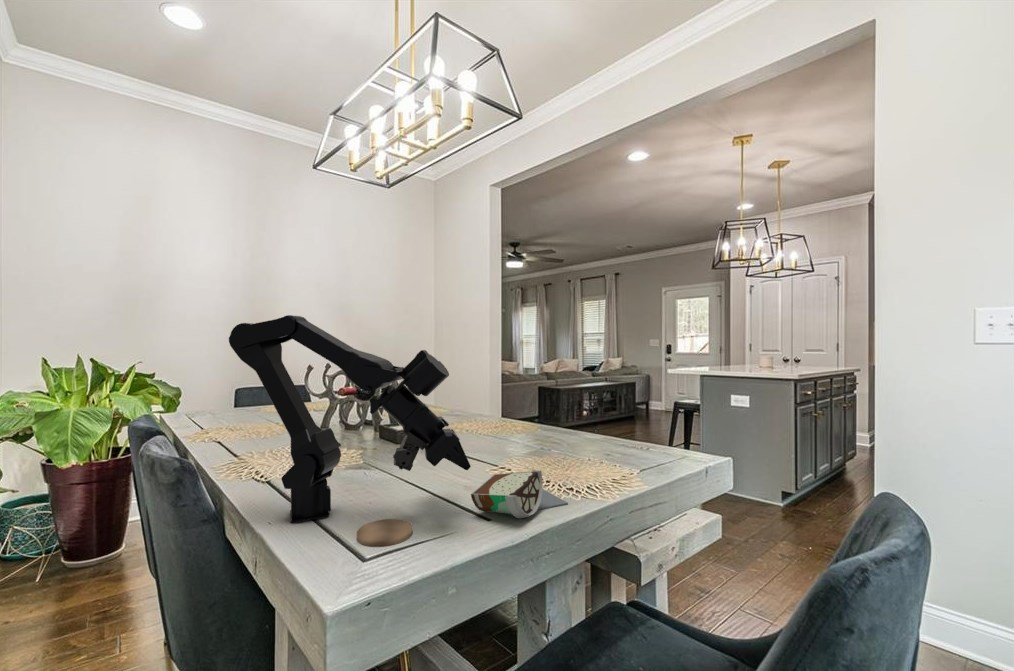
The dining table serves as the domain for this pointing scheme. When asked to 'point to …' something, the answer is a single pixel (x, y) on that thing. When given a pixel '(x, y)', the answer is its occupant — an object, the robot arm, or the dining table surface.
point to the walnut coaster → (384, 532)
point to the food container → (510, 493)
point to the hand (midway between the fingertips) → (468, 468)
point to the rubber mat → (548, 501)
